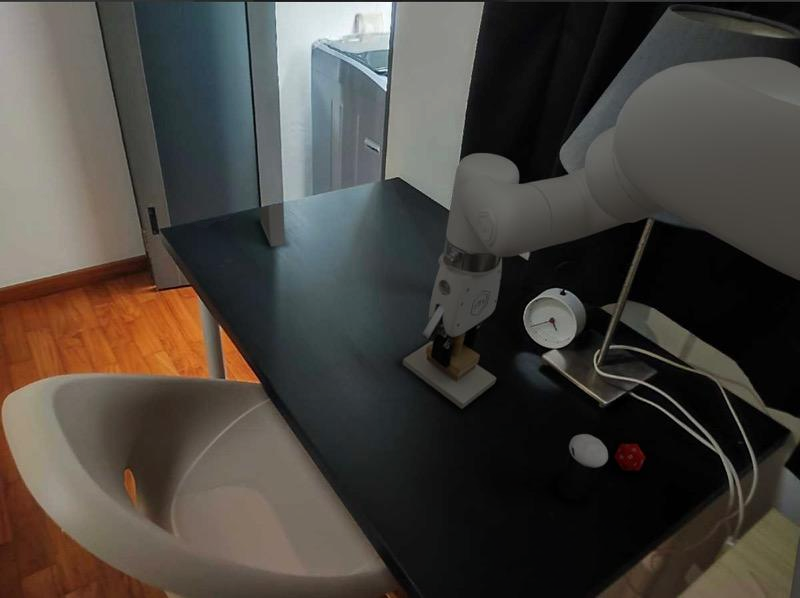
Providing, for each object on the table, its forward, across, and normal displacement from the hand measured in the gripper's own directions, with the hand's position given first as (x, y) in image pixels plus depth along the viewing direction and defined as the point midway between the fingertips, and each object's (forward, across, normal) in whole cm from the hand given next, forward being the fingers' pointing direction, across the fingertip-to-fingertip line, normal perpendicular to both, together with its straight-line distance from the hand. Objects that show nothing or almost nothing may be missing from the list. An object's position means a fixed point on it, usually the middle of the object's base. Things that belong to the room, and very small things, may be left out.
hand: (452, 352), depth 85 cm
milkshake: (+5, -4, -24) cm, 25 cm away
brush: (+2, 0, 0) cm, 2 cm away
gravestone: (+4, +3, +49) cm, 49 cm away
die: (+5, +6, -27) cm, 28 cm away
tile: (+4, 0, 0) cm, 4 cm away
